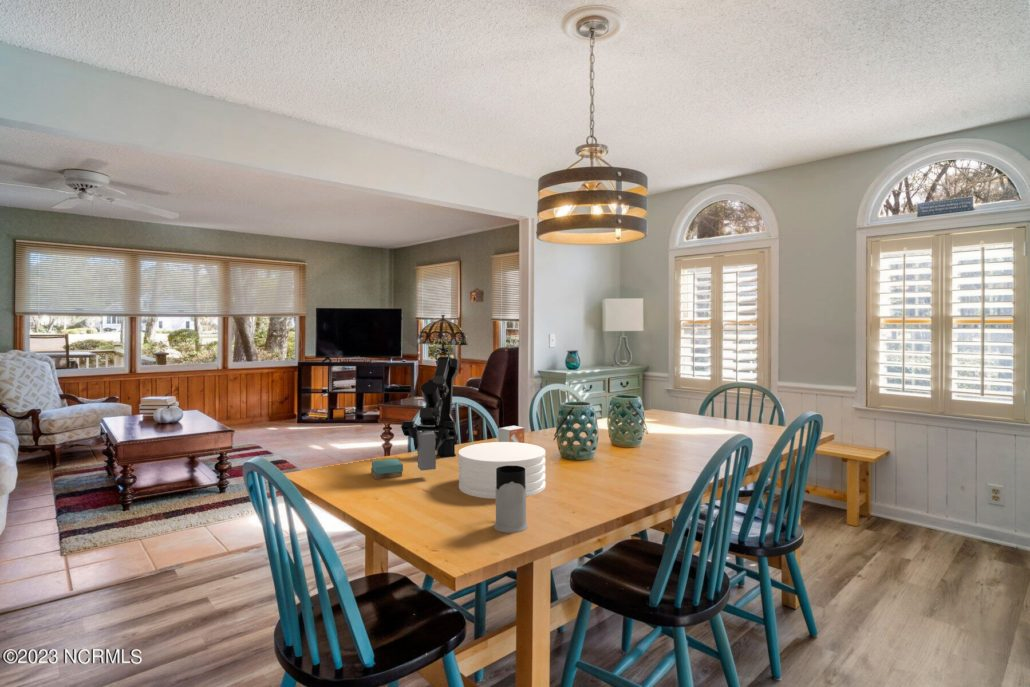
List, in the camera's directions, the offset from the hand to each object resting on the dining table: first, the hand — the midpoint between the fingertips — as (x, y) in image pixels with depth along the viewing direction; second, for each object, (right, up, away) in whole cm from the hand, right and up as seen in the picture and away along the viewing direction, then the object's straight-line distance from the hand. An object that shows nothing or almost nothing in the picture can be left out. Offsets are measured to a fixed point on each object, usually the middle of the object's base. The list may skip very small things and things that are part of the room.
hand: (425, 449), depth 192 cm
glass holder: (+29, -12, -42) cm, 52 cm away
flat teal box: (-15, -11, +7) cm, 19 cm away
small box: (+29, -9, +24) cm, 39 cm away
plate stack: (+26, -11, -7) cm, 29 cm away
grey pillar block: (0, -7, +2) cm, 7 cm away
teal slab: (-14, -8, +6) cm, 18 cm away
